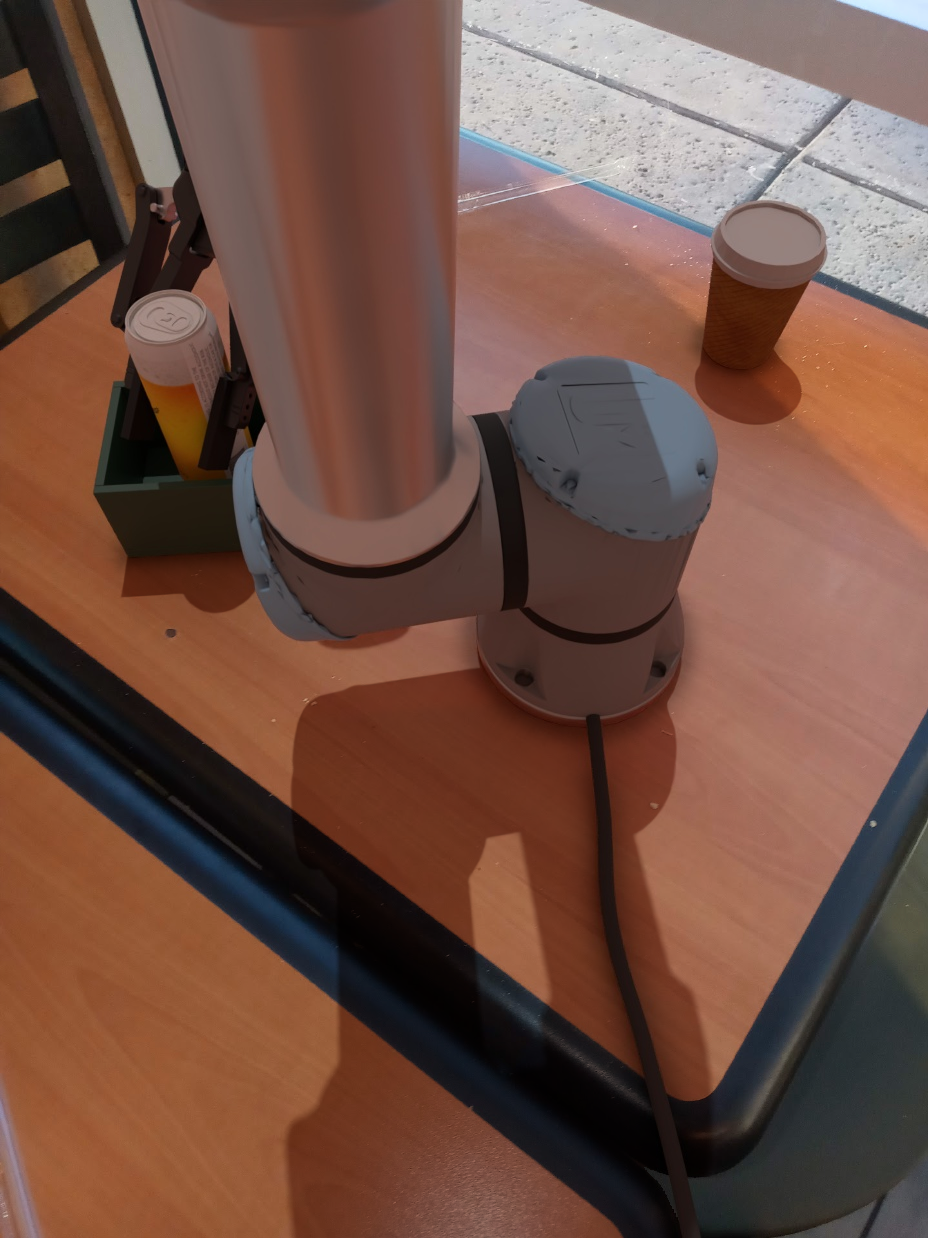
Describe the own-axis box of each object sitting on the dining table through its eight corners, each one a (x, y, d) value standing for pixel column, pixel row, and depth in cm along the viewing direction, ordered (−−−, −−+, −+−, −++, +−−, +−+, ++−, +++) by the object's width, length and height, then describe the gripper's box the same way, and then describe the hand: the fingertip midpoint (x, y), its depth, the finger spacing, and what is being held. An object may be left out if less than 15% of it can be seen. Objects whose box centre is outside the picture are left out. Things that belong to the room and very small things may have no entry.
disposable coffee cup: (810, 354, 84) (857, 240, 74) (734, 397, 81) (772, 284, 71) (738, 298, 88) (774, 182, 78) (663, 336, 85) (690, 222, 75)
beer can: (212, 429, 75) (159, 274, 62) (273, 457, 73) (231, 303, 60) (165, 479, 72) (99, 327, 59) (226, 509, 70) (172, 359, 57)
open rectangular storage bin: (321, 546, 73) (306, 480, 66) (127, 557, 72) (92, 493, 65) (323, 439, 79) (309, 369, 72) (144, 450, 78) (113, 380, 71)
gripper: (399, 168, 61) (310, 495, 67) (167, 102, 66) (104, 414, 72) (351, 131, 54) (257, 499, 60) (95, 60, 59) (32, 410, 65)
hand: (174, 452), depth 66 cm, fingers closed on beer can, 6 cm apart
